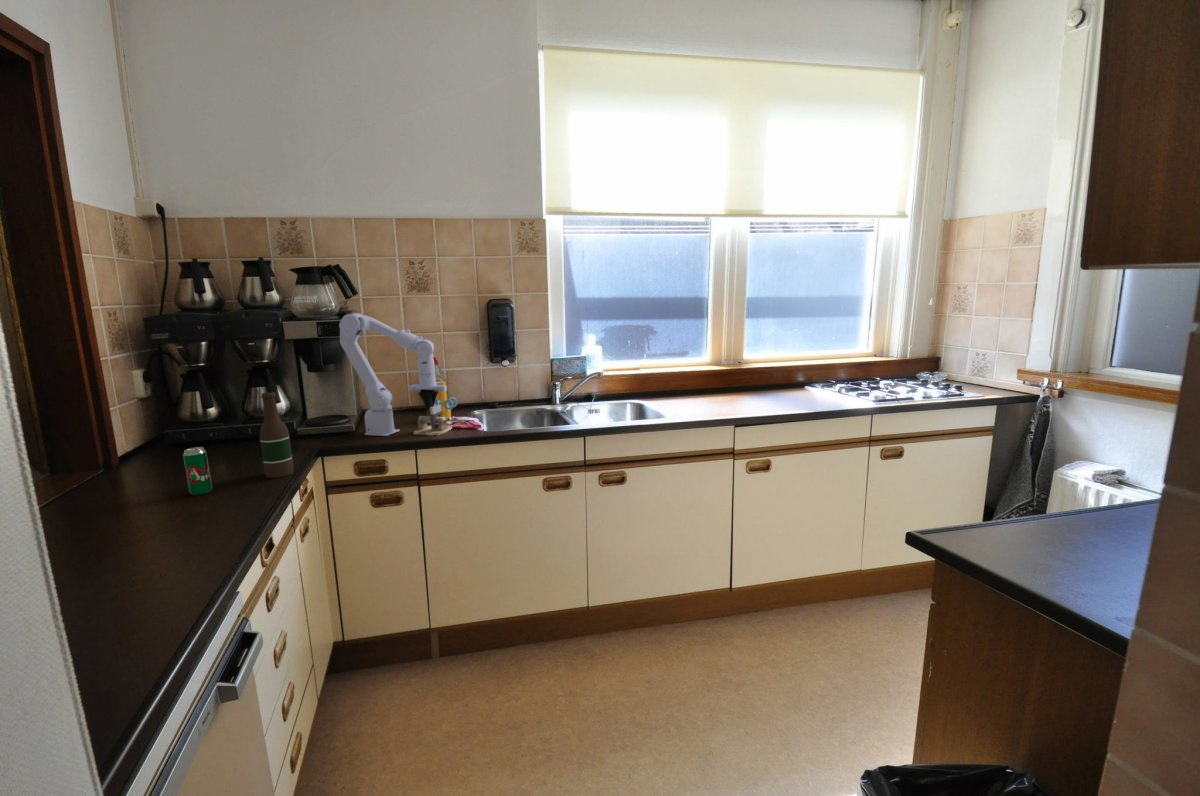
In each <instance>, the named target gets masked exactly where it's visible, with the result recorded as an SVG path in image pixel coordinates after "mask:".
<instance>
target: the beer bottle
mask: <svg viewBox="0 0 1200 796" xmlns="http://www.w3.org/2000/svg"><path fill="white" fill-rule="evenodd" d="M260 398H261V399H262V407H263V408H262V409H263V422H262V425H261V427H260V429H259V444H260V450H261V451H260V452H261V456H262V464H263V470H264V474H265V475H264V476H265V477H266V478H267V477H268V478H269V479H278V478H279V479H280V478H285V477H287V476H290V475H293V474H294V461H293V454H292V453H293V452H292V448H291V447H292V446H291V439H290V433H289V429H288V427H287V425H286V423H285V422H284V421H282V419H281V417H280V415H279V411H278V405H277V401H276V392H274V391H268V392H263V393H261V397H260Z"/></svg>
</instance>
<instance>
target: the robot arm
mask: <svg viewBox="0 0 1200 796" xmlns="http://www.w3.org/2000/svg"><path fill="white" fill-rule="evenodd" d="M338 327H339V344H340V345H341V347H342V350H343V351H344V353H345V354H346V356H347V358H348V360H349V361H350V363H351V366H352V368H354V371H355V372H356V374H357V376H358V378H359V379H360V380H361V383H362V385H363V386H364V388H365V395H366V396H367V399H368V402H367V403H368V406H369V407H370V408H369V409H367V410H366V411H365V413H364V425H365V433H364V435H365V436H379V437H380V436H381V437H388V436H390V435H392V434H395V433H397V432H401V430H400V429H396V428H395V422H394V413H393V406H392V405H391V404H392V402H393V394H392V392H391V391H390V390H389V389H387V388H386V387H385V385H384V384H383V382H381V381H380V380H379V378H378V376H377V375H376V373H375V371H374V369H373V368H372V366H371V364H370V363H369V361H368V359H367V357H366V356H365V354H364V352H363V350H362V348H361V347H360V345H359V343H358V340H359V338H360V335H361V333H362V332H363V331H373V332H375V333H379V334H381V335H384V336H386V337H388V338H390V339H393V340H394V342H395V344H396V345H398V346H400V347H401V348H404V349H406V350H408V351H411V352H414V353H415V354H416V356H417V371H418V372H417V373H418V382H419V384H409V391H410V392H411V391H420V392H418V396H419V397H420V398H421V400H422V401H423V403H424V406H425V408H426V409H425V410H426V411H428V412H430V408H431V407H433V406H434V405H435V403H434V402H435V401H436V400H435V399H436V396H437V394H438V391H442V392H445V391H446V392H447V391H448V386H447V385H446V386H444V385H436V382H437V379H436V369H435V360H434V359H435V358H434V353H433V352H434V350H435V345H434V342H432V341H431V340H429V339H428V338H424V337H423V336H421V335H420V336H418V335H416V334H414V333H411V330H410V329H400V330H397V329H396V328H394V327H391V326H389V325H388V324H385V323H383V322H381V321H379V320H378V319H376V318H373V317H371V316H369V315H366V314H365V315H364V314H363V313H360V312H353V313H347V314H345V315H343V316H342V318H341V320H340V322H339V325H338Z"/></svg>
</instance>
